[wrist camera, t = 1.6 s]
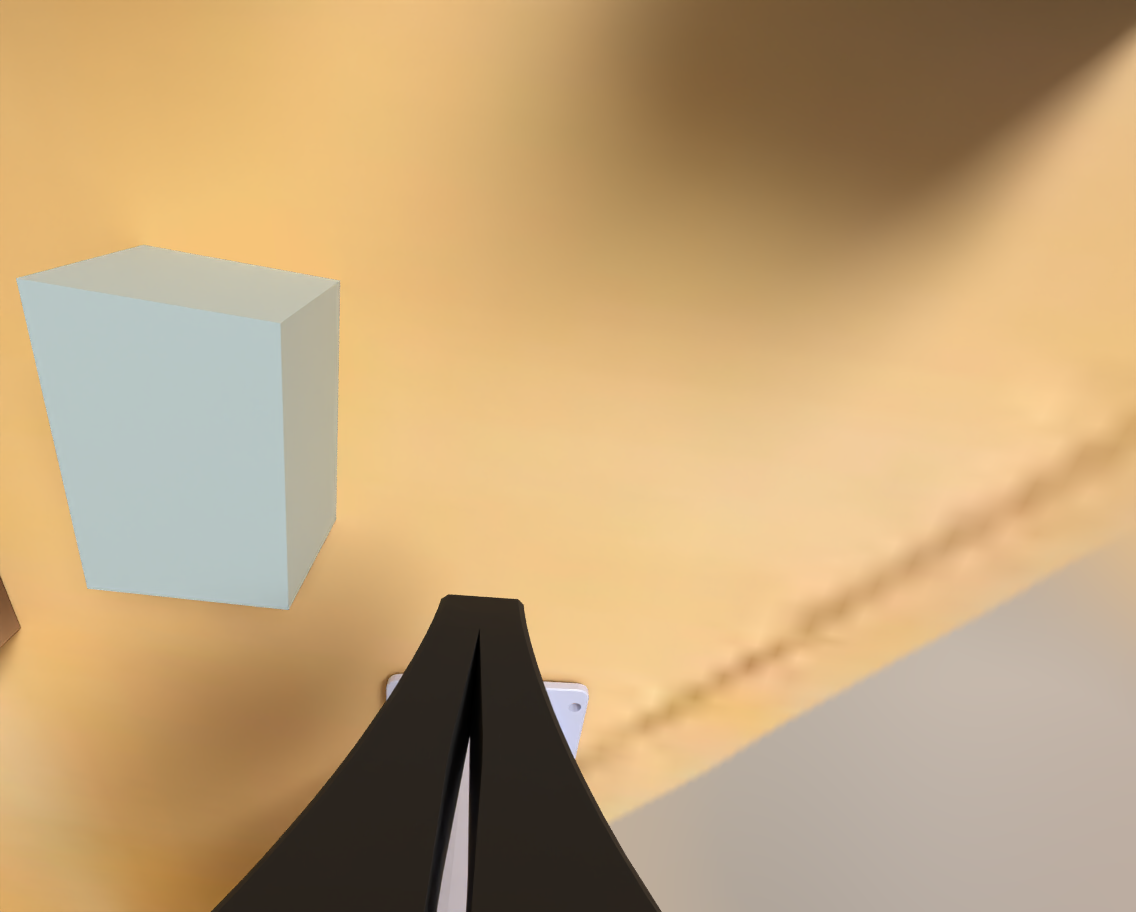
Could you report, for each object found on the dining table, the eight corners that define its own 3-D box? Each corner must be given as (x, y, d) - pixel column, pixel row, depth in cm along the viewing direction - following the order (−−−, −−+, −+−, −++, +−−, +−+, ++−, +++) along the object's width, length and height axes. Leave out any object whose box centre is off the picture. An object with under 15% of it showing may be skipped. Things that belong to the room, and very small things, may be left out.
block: (337, 517, 20) (288, 610, 16) (179, 496, 19) (87, 588, 15) (342, 279, 16) (280, 323, 12) (147, 243, 16) (15, 278, 12)
